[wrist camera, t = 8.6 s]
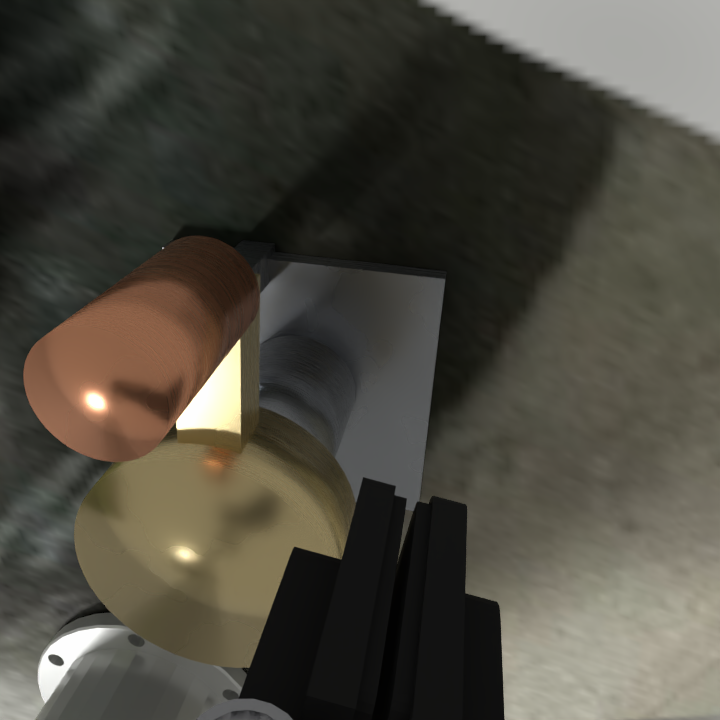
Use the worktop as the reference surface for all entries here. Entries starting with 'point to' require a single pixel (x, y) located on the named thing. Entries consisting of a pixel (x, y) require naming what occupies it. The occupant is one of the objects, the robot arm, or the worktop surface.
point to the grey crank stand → (351, 358)
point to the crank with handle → (185, 454)
